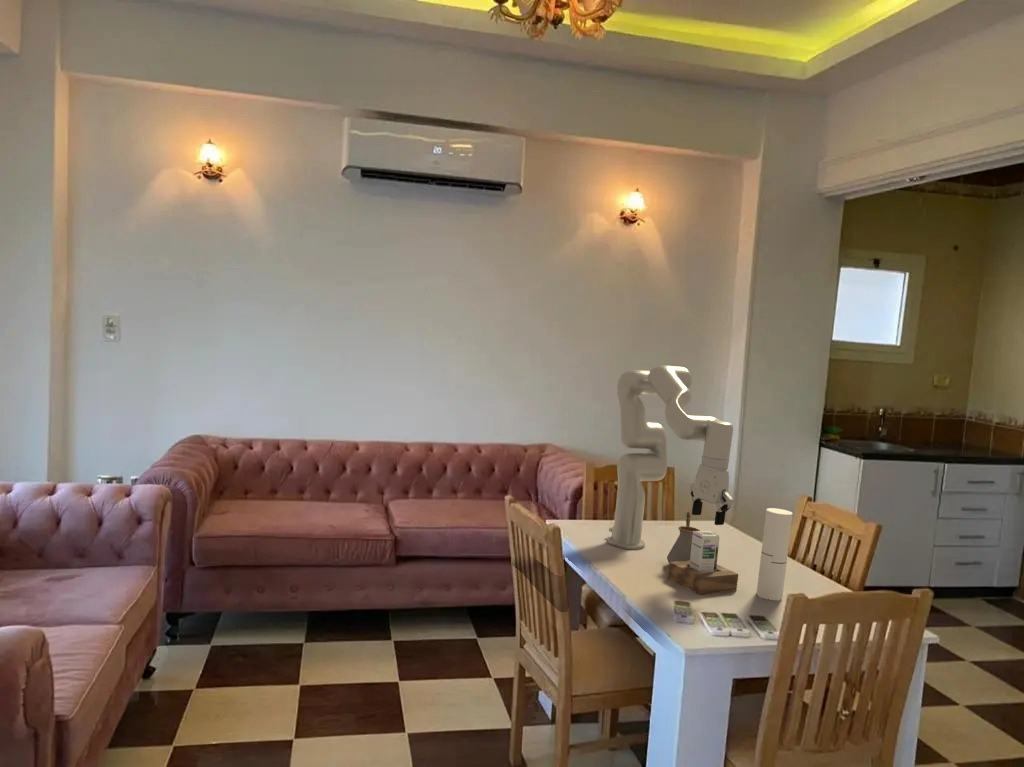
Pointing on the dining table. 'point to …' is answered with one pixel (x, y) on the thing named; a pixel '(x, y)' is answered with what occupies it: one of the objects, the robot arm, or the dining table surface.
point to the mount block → (703, 578)
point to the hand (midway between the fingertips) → (707, 519)
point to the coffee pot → (682, 543)
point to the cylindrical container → (774, 553)
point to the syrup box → (704, 551)
